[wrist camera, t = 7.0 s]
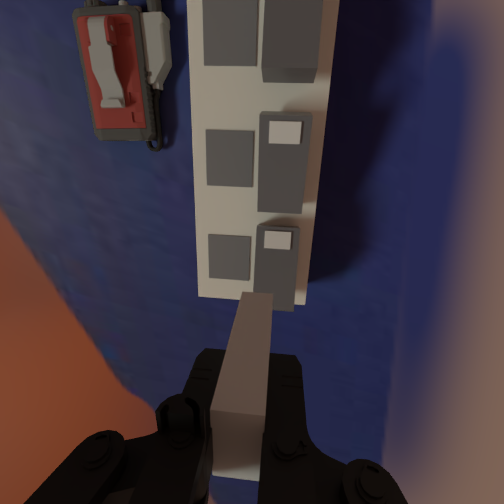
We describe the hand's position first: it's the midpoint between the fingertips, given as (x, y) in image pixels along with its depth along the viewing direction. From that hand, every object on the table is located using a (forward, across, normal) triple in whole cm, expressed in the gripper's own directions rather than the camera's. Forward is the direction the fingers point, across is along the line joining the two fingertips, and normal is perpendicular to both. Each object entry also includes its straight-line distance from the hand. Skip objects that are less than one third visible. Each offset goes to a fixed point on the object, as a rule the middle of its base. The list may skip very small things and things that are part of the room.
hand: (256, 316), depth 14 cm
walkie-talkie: (+21, -15, +17) cm, 31 cm away
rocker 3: (+14, +1, -3) cm, 15 cm away
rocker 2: (+15, +1, +7) cm, 16 cm away
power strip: (+21, -2, +8) cm, 22 cm away
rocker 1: (+15, +1, +17) cm, 22 cm away
